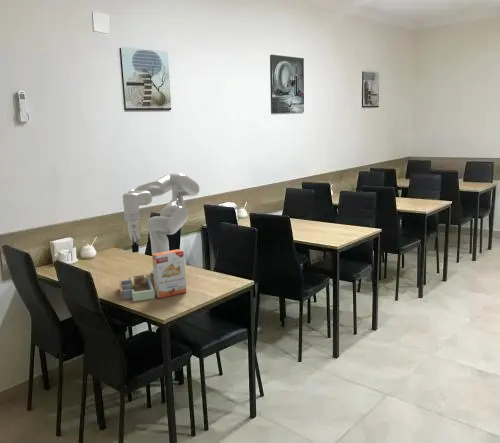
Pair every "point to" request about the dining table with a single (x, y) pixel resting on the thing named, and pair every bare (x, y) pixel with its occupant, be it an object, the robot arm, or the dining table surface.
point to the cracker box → (169, 273)
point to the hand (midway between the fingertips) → (135, 251)
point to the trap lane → (129, 293)
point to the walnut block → (139, 281)
